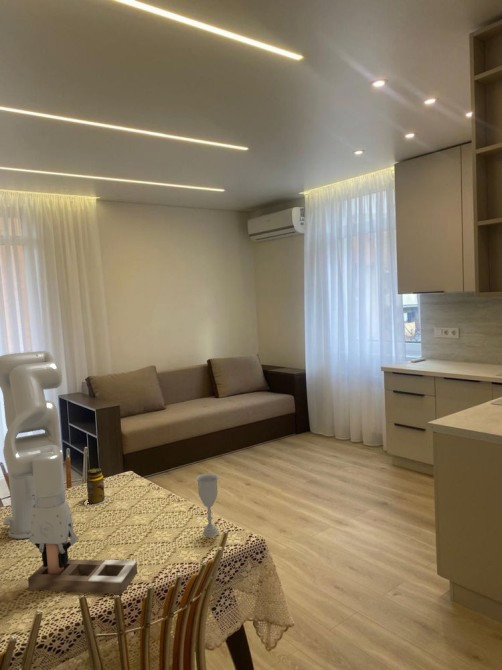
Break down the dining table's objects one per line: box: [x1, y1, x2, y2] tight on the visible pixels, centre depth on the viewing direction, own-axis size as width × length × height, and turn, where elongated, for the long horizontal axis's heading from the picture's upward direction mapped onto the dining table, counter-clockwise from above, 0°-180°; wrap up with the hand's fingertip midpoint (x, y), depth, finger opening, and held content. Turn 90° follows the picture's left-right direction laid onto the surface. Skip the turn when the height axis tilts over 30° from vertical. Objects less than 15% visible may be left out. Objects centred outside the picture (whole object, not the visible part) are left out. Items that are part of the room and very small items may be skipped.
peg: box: [46, 544, 64, 575], centre depth 134 cm, size 4×4×12 cm
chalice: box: [195, 473, 219, 538], centre depth 156 cm, size 7×7×18 cm
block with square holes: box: [27, 558, 138, 595], centre depth 133 cm, size 26×10×3 cm, turn 81°
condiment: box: [79, 467, 109, 508], centre depth 186 cm, size 7×8×12 cm
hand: (55, 564), depth 134 cm, fingers closed on peg, 4 cm apart
